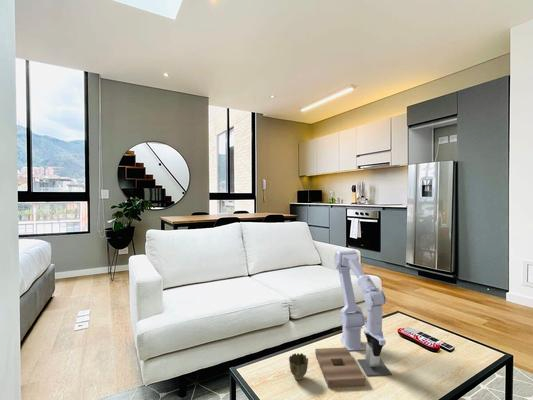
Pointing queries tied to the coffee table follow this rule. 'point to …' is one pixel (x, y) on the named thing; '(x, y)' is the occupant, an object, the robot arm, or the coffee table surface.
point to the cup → (298, 365)
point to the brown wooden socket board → (339, 368)
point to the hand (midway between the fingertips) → (374, 352)
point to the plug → (371, 356)
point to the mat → (374, 368)
